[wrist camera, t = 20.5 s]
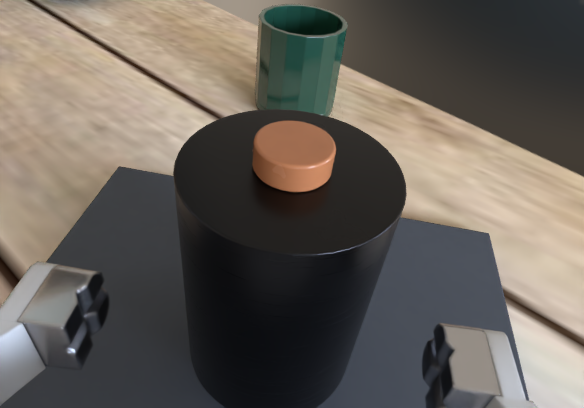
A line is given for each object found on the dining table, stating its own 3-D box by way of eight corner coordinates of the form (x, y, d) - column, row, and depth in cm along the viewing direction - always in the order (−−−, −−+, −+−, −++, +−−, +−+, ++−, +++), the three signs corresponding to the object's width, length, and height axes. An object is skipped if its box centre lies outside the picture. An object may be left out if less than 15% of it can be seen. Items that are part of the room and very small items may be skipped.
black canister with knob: (157, 363, 16) (114, 143, 10) (257, 268, 20) (272, 65, 14) (285, 469, 14) (335, 275, 8) (371, 341, 18) (451, 139, 12)
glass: (247, 116, 31) (250, 28, 27) (264, 80, 35) (269, -1, 31) (328, 130, 30) (343, 43, 26) (335, 91, 35) (349, 11, 31)
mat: (-193, 597, 11) (-208, 592, 11) (120, 174, 25) (118, 165, 25) (610, 793, 10) (625, 796, 10) (484, 241, 24) (489, 233, 23)
